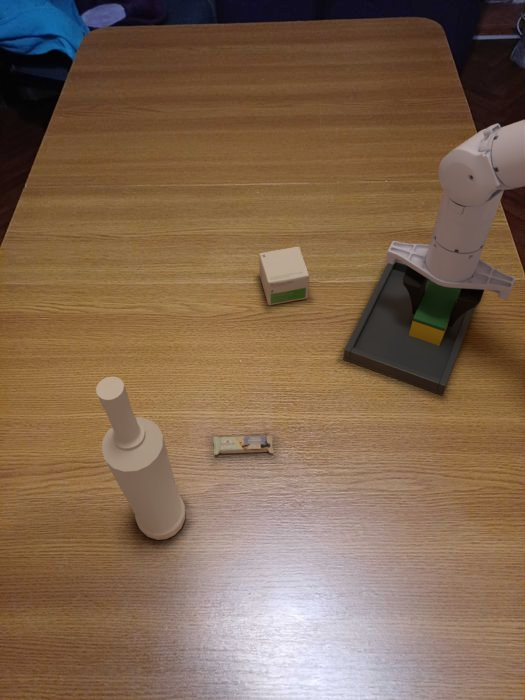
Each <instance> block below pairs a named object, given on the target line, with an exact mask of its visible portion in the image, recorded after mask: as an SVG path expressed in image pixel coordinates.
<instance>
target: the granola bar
mask: <svg viewBox="0 0 525 700" xmlns="http://www.w3.org/2000/svg"><path fill="white" fill-rule="evenodd" d="M212 440H213V454H214V456H215V455H216V456H217V455H219V454H243V453H244V454H245V453H246V454H247V453H269V454H273V453H274V448H273V447H274V446H273V435H271V434H269V435H240V436H239V435H237V436H221V437H218V436H213V439H212Z"/></svg>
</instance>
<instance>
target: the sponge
mask: <svg viewBox="0 0 525 700" xmlns="http://www.w3.org/2000/svg"><path fill="white" fill-rule="evenodd" d="M460 291H461V290H460V289H457V288H450V287H444V286H441V285H438V284H436V283H434V282H432V281H431V280H430V281H429V284H428V286H427V288H426V290H425V293H424V295H423V297H422V300H421V302H420V304H419V306H418V309H417V311H416V313H415V315H414V318H413V321H412V325H411V329H410V332H409V336H412V337H415V338H418V339H421V340H423V341H426V342H429V343H432V344H435V345H438V346H440V344H441V341H442V339H443V336H444V333H445V331H446V328H447V325H448V322H449V319H450V317H451V314H452V311H453V309H454V306H455V304H456V302H457V299H458V296H459V293H460Z"/></svg>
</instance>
